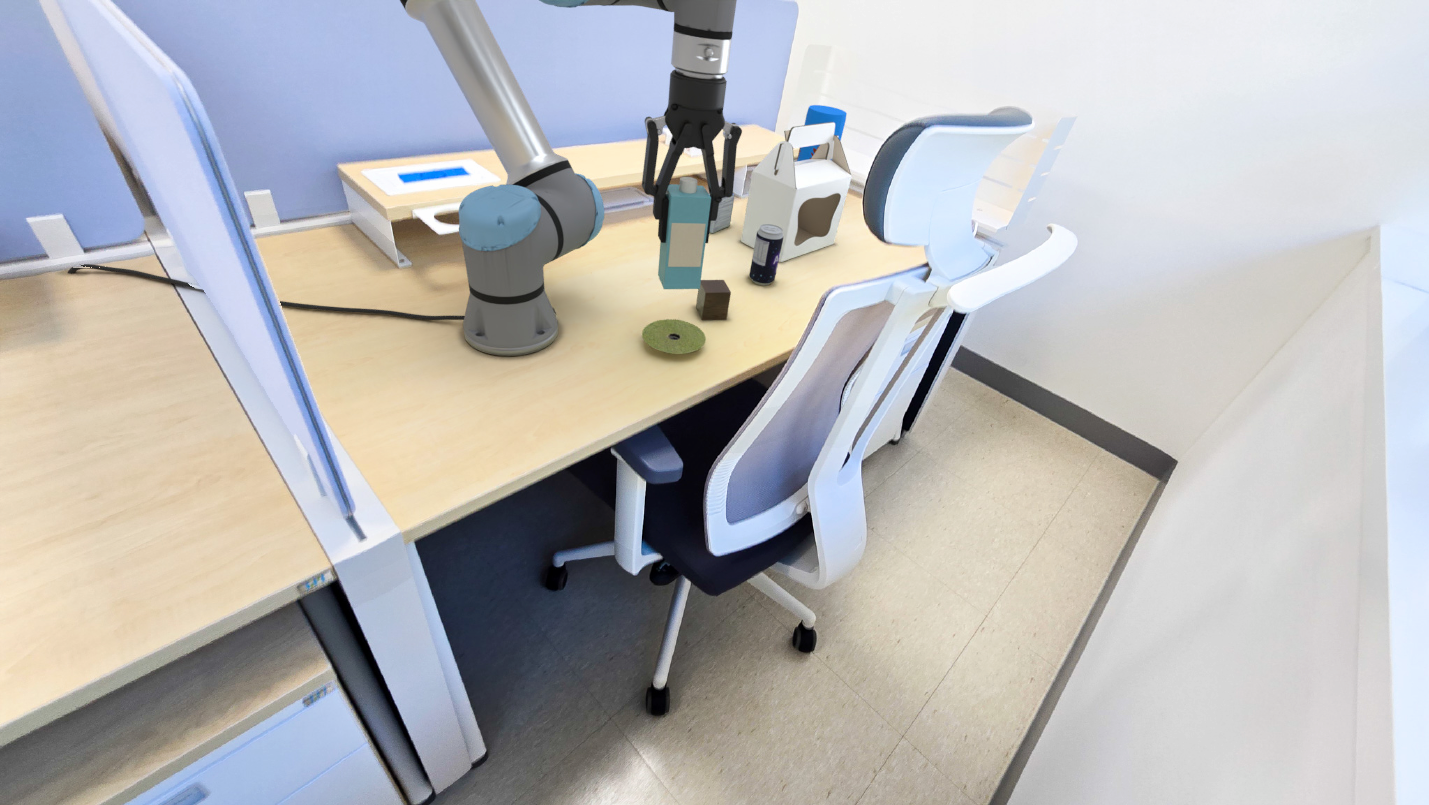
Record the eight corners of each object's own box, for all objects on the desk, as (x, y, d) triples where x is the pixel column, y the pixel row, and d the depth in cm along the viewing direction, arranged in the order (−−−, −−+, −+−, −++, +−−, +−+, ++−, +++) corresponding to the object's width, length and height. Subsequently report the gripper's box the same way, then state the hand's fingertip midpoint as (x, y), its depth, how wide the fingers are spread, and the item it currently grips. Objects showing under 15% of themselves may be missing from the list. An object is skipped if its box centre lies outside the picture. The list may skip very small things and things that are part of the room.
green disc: (629, 336, 103) (630, 327, 102) (681, 322, 109) (682, 313, 108) (664, 369, 96) (665, 359, 95) (716, 352, 102) (718, 343, 101)
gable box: (795, 225, 155) (820, 113, 138) (834, 244, 149) (865, 128, 132) (739, 242, 142) (759, 119, 125) (779, 263, 135) (806, 137, 118)
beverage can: (772, 289, 124) (783, 236, 117) (746, 283, 125) (756, 230, 117) (775, 278, 129) (786, 226, 121) (750, 272, 129) (760, 221, 122)
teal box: (659, 295, 95) (677, 266, 81) (652, 211, 96) (669, 169, 83) (694, 295, 97) (718, 266, 83) (687, 212, 98) (709, 171, 84)
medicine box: (716, 221, 151) (721, 187, 146) (730, 226, 149) (735, 193, 144) (698, 228, 146) (702, 194, 140) (712, 234, 144) (717, 199, 138)
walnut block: (701, 320, 110) (705, 292, 107) (695, 307, 114) (699, 279, 110) (726, 319, 112) (731, 292, 108) (719, 306, 115) (724, 279, 112)
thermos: (788, 202, 169) (807, 110, 154) (790, 191, 178) (808, 102, 162) (824, 209, 169) (847, 117, 153) (825, 197, 177) (847, 109, 162)
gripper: (631, 71, 70) (625, 249, 85) (775, 85, 76) (747, 250, 90) (622, 59, 76) (618, 228, 90) (757, 73, 81) (733, 230, 95)
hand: (682, 239), depth 90 cm, fingers closed on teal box, 6 cm apart
